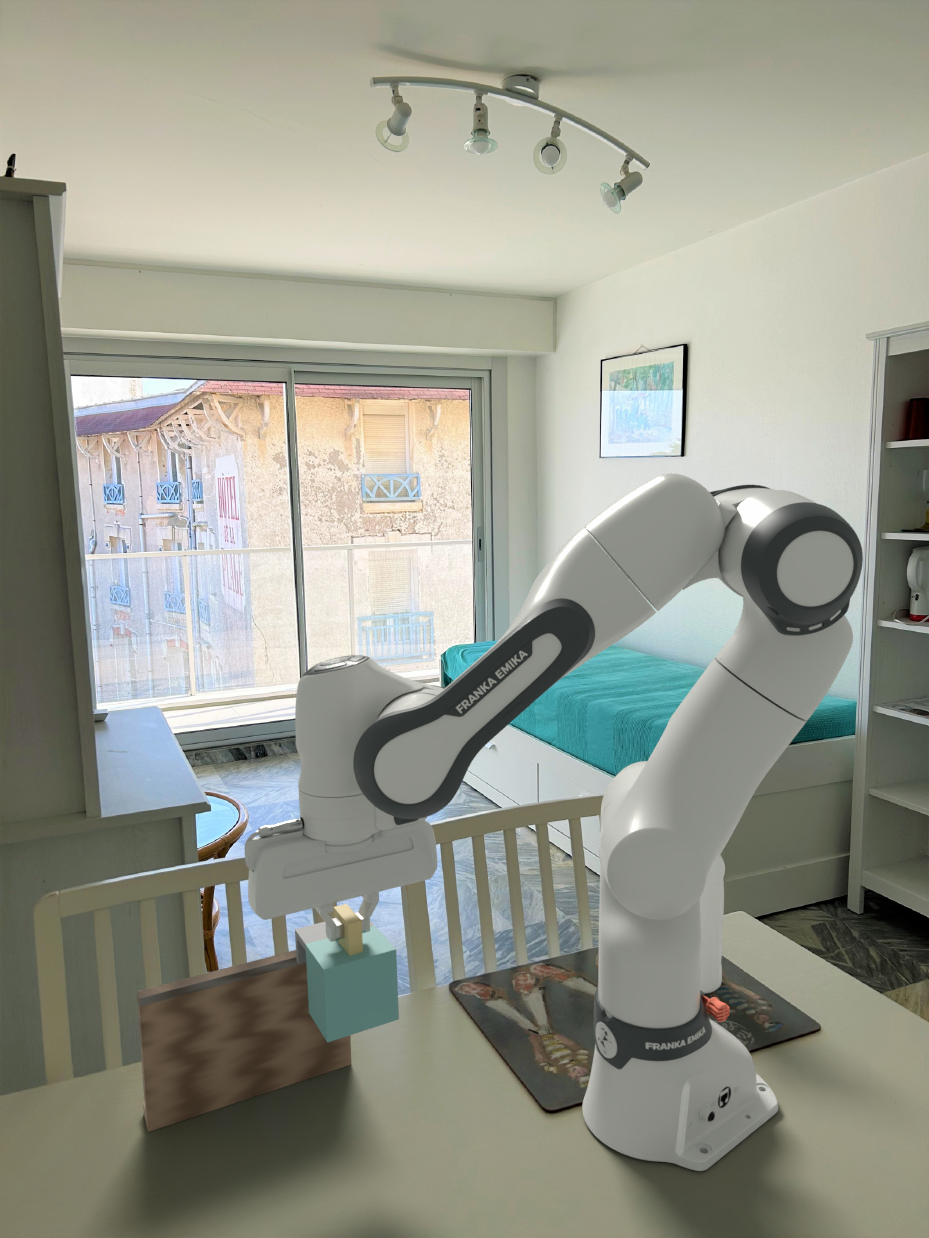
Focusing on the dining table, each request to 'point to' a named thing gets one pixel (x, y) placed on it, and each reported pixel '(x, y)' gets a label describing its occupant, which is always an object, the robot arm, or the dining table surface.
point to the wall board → (229, 1038)
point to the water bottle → (712, 928)
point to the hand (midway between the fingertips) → (348, 934)
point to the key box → (348, 976)
